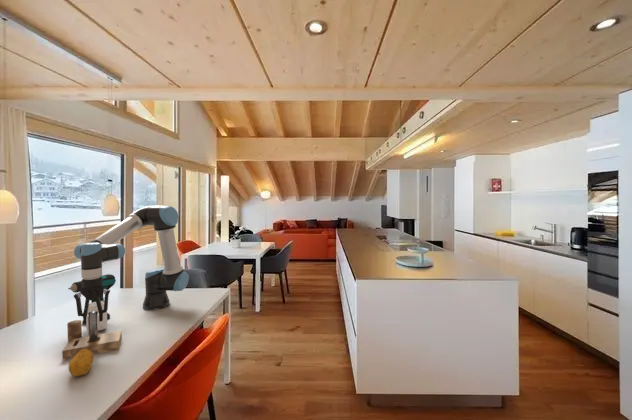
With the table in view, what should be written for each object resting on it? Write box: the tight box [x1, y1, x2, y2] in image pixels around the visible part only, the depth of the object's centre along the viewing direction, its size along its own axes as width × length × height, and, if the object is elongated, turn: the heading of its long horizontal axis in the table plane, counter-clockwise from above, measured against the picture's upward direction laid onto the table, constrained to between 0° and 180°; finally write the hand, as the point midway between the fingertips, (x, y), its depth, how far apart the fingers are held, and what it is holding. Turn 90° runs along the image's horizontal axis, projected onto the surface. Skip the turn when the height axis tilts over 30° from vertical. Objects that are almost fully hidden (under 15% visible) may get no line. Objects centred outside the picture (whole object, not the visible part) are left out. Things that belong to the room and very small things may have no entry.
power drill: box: [67, 273, 117, 325], centre depth 169 cm, size 26×9×25 cm, turn 168°
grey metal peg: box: [88, 311, 99, 340], centre depth 138 cm, size 3×3×12 cm
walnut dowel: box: [67, 319, 83, 342], centre depth 144 cm, size 5×5×10 cm
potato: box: [68, 349, 94, 377], centre depth 119 cm, size 7×14×7 cm, turn 25°
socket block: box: [61, 330, 123, 361], centre depth 138 cm, size 20×12×4 cm, turn 118°
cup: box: [87, 301, 108, 332], centre depth 158 cm, size 8×8×14 cm
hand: (93, 329), depth 138 cm, fingers closed on grey metal peg, 3 cm apart
